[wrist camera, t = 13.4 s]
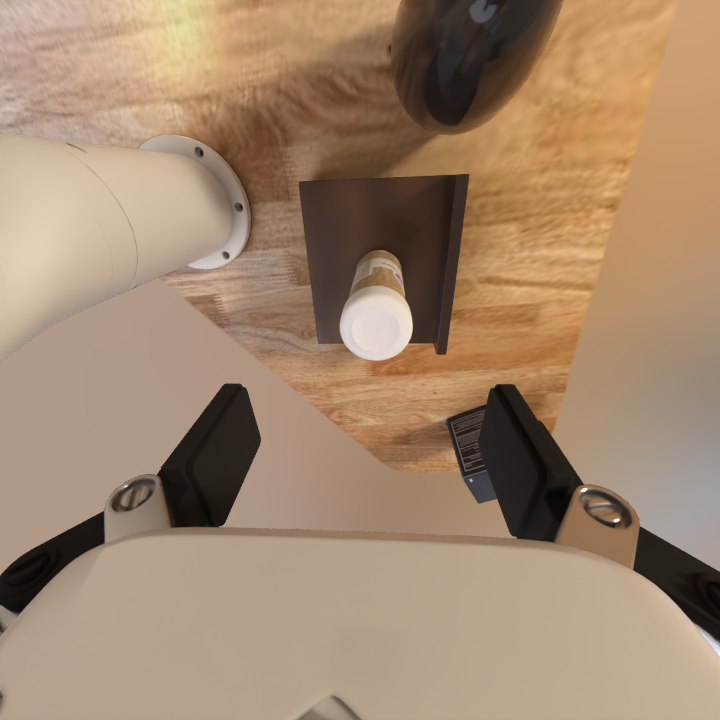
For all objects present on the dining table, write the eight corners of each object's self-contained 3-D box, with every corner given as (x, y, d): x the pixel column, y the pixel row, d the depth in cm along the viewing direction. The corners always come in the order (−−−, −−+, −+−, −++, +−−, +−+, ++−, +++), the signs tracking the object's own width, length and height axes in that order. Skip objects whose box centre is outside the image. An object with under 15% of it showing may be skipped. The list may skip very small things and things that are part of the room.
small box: (460, 446, 48) (477, 507, 39) (444, 419, 45) (459, 478, 36) (527, 423, 45) (564, 484, 36) (515, 393, 42) (551, 450, 33)
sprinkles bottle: (410, 273, 29) (429, 333, 18) (377, 303, 31) (373, 375, 20) (379, 237, 28) (377, 278, 16) (345, 271, 30) (323, 329, 18)
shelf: (325, 325, 38) (314, 354, 32) (310, 181, 30) (290, 181, 24) (435, 324, 37) (446, 354, 31) (450, 175, 29) (469, 174, 23)
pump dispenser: (489, -72, 21) (654, -457, 8) (529, 92, 26) (678, 3, 13) (366, 35, 25) (349, -125, 12) (420, 164, 29) (451, 152, 16)
